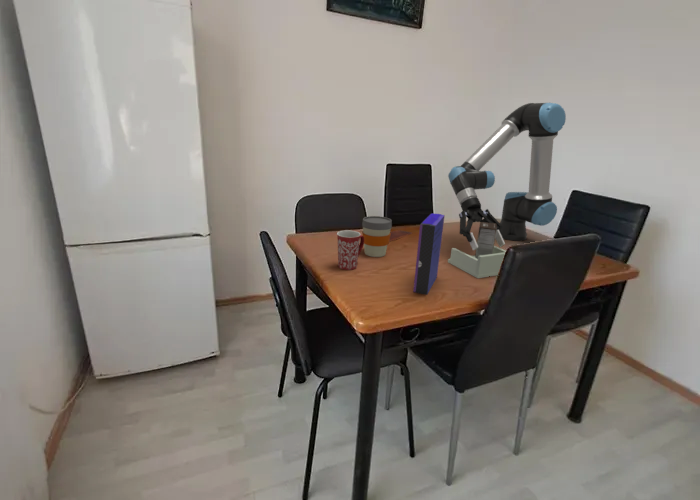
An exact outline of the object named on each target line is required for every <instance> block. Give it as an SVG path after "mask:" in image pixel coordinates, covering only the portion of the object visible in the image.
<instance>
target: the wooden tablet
mask: <svg viewBox="0 0 700 500" xmlns="http://www.w3.org/2000/svg"><path fill="white" fill-rule="evenodd" d="M390 233H391V235H390V240H389V243H390V242H392V241H396V240H399V239H401V238H405V237H407V236H410V235H412V234H413V232H410V231H407V230H406V231H405V230H400V229H399V230H398V229H397V230H393V231H390Z"/></svg>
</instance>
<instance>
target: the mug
mask: <svg viewBox="0 0 700 500" xmlns="http://www.w3.org/2000/svg"><path fill="white" fill-rule="evenodd" d="M336 236H337V237H336V238H337V264H338V265H337V266H338V268H339V269H340V270H345V271H351V270H354V269H357V267H358V260H359V256H360V254H361V252H362V250H363V247H364V237H363V236H362V233H360V232H359V231H355V230H349V229H345V230H339V231H337V233H336Z"/></svg>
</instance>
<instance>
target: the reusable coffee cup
mask: <svg viewBox="0 0 700 500" xmlns="http://www.w3.org/2000/svg"><path fill="white" fill-rule="evenodd" d="M392 221H393V220H392V219H391V218H388V217H385V216H377V215H371V216H364V217H363V218H362V224H361V227H362V231H361V232H362V233H361V235H362V236H363V237H364V245H363V247H364V249H363V250H364V254H365V255H366V256H368V257H374V258H381V257H384V256H386V253H387V248H388V245H389V243H390V242H389V240H390V235H391V233H390V232H391V229H392V227H393V223H392Z"/></svg>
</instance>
